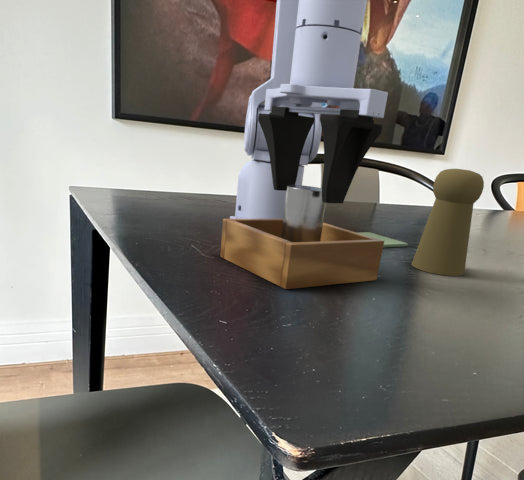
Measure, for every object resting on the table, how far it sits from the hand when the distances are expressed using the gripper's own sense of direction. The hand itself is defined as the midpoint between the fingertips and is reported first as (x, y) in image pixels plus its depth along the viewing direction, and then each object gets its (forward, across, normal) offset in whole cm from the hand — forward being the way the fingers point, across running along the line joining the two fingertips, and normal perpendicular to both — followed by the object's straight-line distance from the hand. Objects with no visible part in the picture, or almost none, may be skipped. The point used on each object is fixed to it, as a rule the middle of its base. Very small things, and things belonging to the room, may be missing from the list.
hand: (306, 196), depth 48 cm
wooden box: (+7, 0, 0) cm, 7 cm away
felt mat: (+7, -10, +21) cm, 24 cm away
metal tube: (+7, 0, 0) cm, 7 cm away
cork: (+7, +4, +18) cm, 20 cm away
